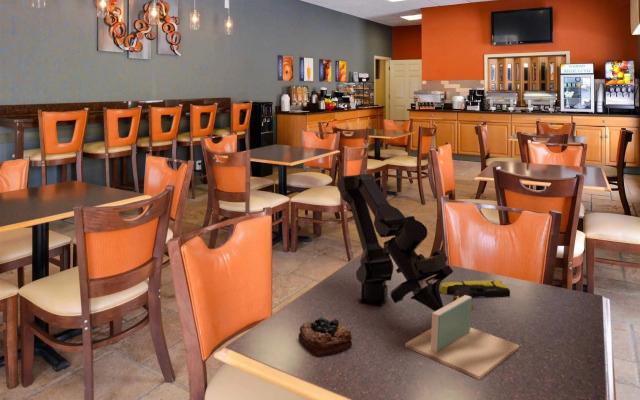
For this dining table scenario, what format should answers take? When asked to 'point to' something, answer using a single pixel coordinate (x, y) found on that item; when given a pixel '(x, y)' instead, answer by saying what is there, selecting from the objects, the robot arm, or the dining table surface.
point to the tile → (450, 322)
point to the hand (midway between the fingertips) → (442, 313)
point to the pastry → (325, 337)
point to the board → (467, 351)
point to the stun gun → (475, 289)
